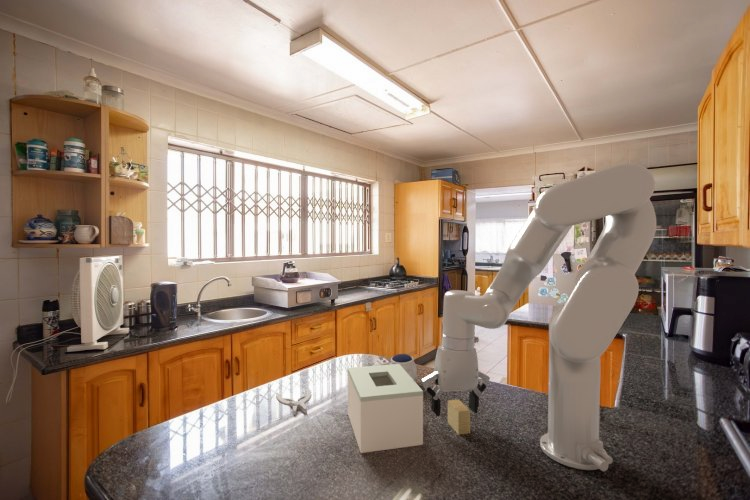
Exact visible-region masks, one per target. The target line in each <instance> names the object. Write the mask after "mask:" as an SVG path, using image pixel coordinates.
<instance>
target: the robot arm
mask: <svg viewBox="0 0 750 500" xmlns="http://www.w3.org/2000/svg"><path fill="white" fill-rule="evenodd" d="M655 188H656V180H655V177H654V174H653V173H652V172H651V171H650V169H648V168H647V167H646V166H643V165H641V164H638V163H634V162H632V163H631V162H623V163H620V164H615V165H613V166H609V167H606V168H603V169H600V170H597V171H595V172H591V173H589V174H585V175H583V176H580V177H577V178H574V179H571V180H567V181H565V182H561V183H558V184H555V185H552V186H551V187H548V188H546V189H545V190H543V191H542V192H541V193H540V194H539V195H538V196H537V197H536V198H537V199H536V200H535V204H534V207H533V209H532V210H531V212H530V214H529V215H528V217H527V218H526V220H525V222H523V225H522V227H521V228H520V230H519V231H518V232H517V234H516V236H515V237H514V239H513V240H512V242H511V244H510V245H509V247H508V249H507V251H506V253H505V256H504V260H503V263H502V265H501V267H500V269H499V270H498V272H497V274H496V275H495V277H494V279H493V280H492V282H491V283H490V285H489V286H488V288H487V290H486V291H485V292H484V294H483V295H476V294H475V293H473V292H471V291H468V290H461V289H460V290H459V289H452V290H451V289H450V290H448V291H446V292H445V293H444V295H443V306H442V307H443V308H442V309H443V310H442V333H441V345H438V347H437V350H436V355H435V359H434V364H433V365H434V367H433V371H432V373H430V374H428V375H427V376H425V377H423V378H421V383H422V386H423V387H424V389H425V391H426V392H427V394H429V395H430V396H431V402H430V403H431V405H430V408H431V411H432V412H433V413H434V415H435V416H436V417H440V416H441V405H442V403H441V401H442V400H441V399H440V398H441V396H442V395H443V394H444V392H446V393H447V392H460V391H469V394H468V395H469V396H468V409H469V410H470V411H472V412H473V413H474V414H478V409H479V405H480V397H482V393H483V392H484V391H485V390H486V389H487V385H488V384H489V381H490V379H491V377H490V376H489V375H487V374H485V373H484V372H481V371H480V370H479V361H478V359H479V358H478V353H477V348H476V347H475V344H476V343H479V342H480V339H479V336H475V330H476V329H475V328H476V327H475V326H477V327H481V328H484V329H488V330H491V329H492V330H495V329H499V328H501V327H503V326H504V325H505V324H506V322H507V321H508V319H509V317H510V315H511V313H512V312H513V310H514V309H515V306H517V303H518V302H519V301H520V299H521V297H522V296H523V294H524V293H525V292H526V290H527V289H528V287H529V286H530V285H531V283H532V282H533V281H534V279H536V277H538V276H539V275H540V274H541V273H542V272H543V270H544V269H545V268H546V267H547V266H548V263H549V261H550V260H551V258H552V257H553V256H554V255H555V253H556V252H557V250H558V249H559V247H560V245H561V244H562V243H563V241H564V239H565V238H566V236H567V234H568V233H569V232H570V230H571V229H572V227H573V226H575V225H580V224H583V223H584V224H585V223H588V222H593V221H595V220H599V219H602V218H604V221H605V222H604V226H603V228H602V231H601V233H600V235H599V236H598V238H597V240H596V242H595V244H594V246H593V248H592V250H591V251H590V253H589V254H588V257H587V258H586V260H585V261H584V263H583V264H582V266H581V267H580V268H579V270H578V271H577V273H576V277H575V281H574V282H575V286H574V288H573V289H572V291H571V293H570V294H569V296H568V299H566V301H565V304H562V305H560V306H559V307H557V308H556V309H554V310H553V312H552V314H551V315H550V318H549V321H548V322H549V323H548V354H549V355H548V401H547V402H548V405H547V407H548V409H547V411H548V413H547V432H546V433H545V434H543V435H542V436H541V437H540V438H539V439H540V440H539V447H540V449H541V451H542V452H543V453H544V454H545V455H546V456H547V457H549V459H552V460H553V461H555V462H557V463H559V464H560V465H564V466H566V467H569V468H573V469H577V470H584V471H585V470H586V471H596V470H600V471H602V472H606V471H608V469H609V465H612V463H613V462H614V458H612V456H610V455H609V454H608V453H607V451H606V450H605V449H604V442H603V441H602V440H600V399H601V398H600V397H601V396H600V394H601V392H600V391H601V356H603V354H604V353H605V351H607V349H608V348H609V346H610V345H611V343H612V342H613V340H614V338H615V337H616V335H617V334H618V333H619V331H620V329H621V328H622V325H623V324H624V322H625V321H626V319H627V317H628V316H629V314H630V312H631V311H632V309H633V308H634V306H635V304H636V301H637V299H638V296H639V290H640V289H639V281H638V279H637V277H636V273H637V271H638V269H639V268H640V266H641V263H642V262H643V260H644V258H645V256H646V255H647V253H648V251H649V249H650V247H651V245H652V243H653V241H654V239H655V236H656V231H657V215H656V212H655V207H654V205H653V203H652V201H651V199H650V198H651V197H652V195H653V194H654V191H655ZM479 379H480V382H479ZM432 382H433V384H434V386H433V387H431V383H432Z"/></svg>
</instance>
